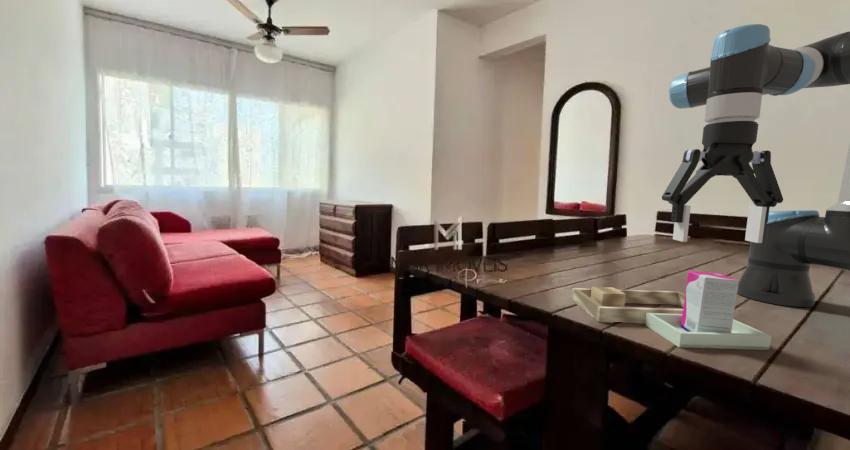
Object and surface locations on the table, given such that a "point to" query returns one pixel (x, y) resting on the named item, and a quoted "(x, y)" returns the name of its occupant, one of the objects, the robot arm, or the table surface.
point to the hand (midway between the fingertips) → (716, 241)
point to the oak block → (608, 296)
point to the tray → (707, 334)
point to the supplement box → (709, 302)
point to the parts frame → (629, 313)
